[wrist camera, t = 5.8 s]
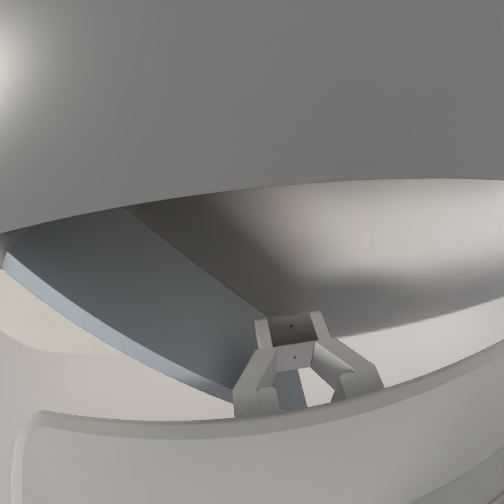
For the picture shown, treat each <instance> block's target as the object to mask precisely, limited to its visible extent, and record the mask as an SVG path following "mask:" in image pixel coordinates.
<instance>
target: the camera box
mask: <svg viewBox="0 0 504 504" xmlns="http://www.w3.org/2000/svg"><path fill="white" fill-rule="evenodd" d="M417 178H450V179H488V180H504V0H0V233H4V232H8V231H12V230H16V229H20V228H24V227H28V226H32V225H36V224H40V223H44V222H49V221H53V220H58V219H62V218H67V217H71V216H76V215H81V214H86V213H91V212H96V211H101V210H106V209H112V208H117V207H123V206H129V205H134V204H140V203H146V202H152V201H159V200H165V199H172V198H179V197H186V196H193V195H200V194H208V193H216V192H224V191H232V190H241V189H250V188H260V187H270V186H281V185H292V184H305V183H319V182H334V181H352V180H375V179H417Z"/></svg>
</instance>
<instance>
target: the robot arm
mask: <svg viewBox="0 0 504 504" xmlns="http://www.w3.org/2000/svg"><path fill="white" fill-rule="evenodd" d="M254 325H255V339H256V348H257V350H256V351H255V352H254V354H253V356H252V358H251V359H250V361H249V363H248V365H247V366H246V368H245V370H244V371H243V373H242V375H241V377H240V378H239V380H238V382H237V383H236V385H235V387H234V388H233V390H232V393H233V404H234V415H235V418H226V419H212V420H192V421H139V420H138V421H137V420H136V421H135V420H119V419H106V418H95V417H86V416H78V415H71V414H63V413H57V412H51V411H44V410H43V411H38V412H37V413H36V414H35V415H33V416H32V417H31V418H30V419H29V420H28V421H27V422H26V423H25V424H24V425H23V426H22V428H21V429H20V430H19V432H18V435H17V439H16V444H15V450H14V457H13V466H12V480H11V501H12V502H11V504H504V339H503V340H501V341H500V342H498V343H496V344H494V345H492V346H490V347H488V348H486V349H484V350H482V351H480V352H478V353H475V354H473V355H471V356H469V357H467V358H464V359H462V360H460V361H458V362H455V363H453V364H451V365H448V366H446V367H443V368H441V369H439V370H436V371H433V372H431V373H428V374H426V375H423V376H420V377H417V378H414V379H412V380H409V381H406V382H403V383H400V384H397V385H394V386H391V387H387V388H384V385H383V383H382V381H381V378H380V376H379V374H378V371H377V369H376V367H375V365H374V364H372V363H371V362H369V361H368V360H366V359H365V358H363V357H362V356H361V355H359V354H358V353H356V352H355V351H353V350H352V349H350V348H349V347H347V346H346V345H345V344H343V343H342V342H340V341H339V340H337V339H336V338H331V336H330V333H329V330H328V328H327V325H326V323H325V320H324V318H323V315H322V313H321V311H320V310H316V311H309V312H302V313H296V314H289V315H284V316H274V317H267V318H257V319H254ZM306 367H311V368H312V369H313V370H314V371H315V372H316V373H317V374H318V375H319V376H320V377H321V378H322V379H323V380H324V381H326V382H327V383H328V384H329V385H330V386H331V387H332V388H333V389H334V390H335V392H334V394H333V397H332V399H331V402H330V403H326V404H322V405H317V406H312V407H307V408H301V409H296V410H290V411H284V412H280V408H279V403H278V398H277V393H276V389H275V388H273V387H271V385H272V383H273V381H274V379H275V376H276V374H277V372H282V371H287V370H293V369H299V368H306Z"/></svg>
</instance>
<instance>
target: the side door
mask: <svg viewBox="0 0 504 504" xmlns="http://www.w3.org/2000/svg"><path fill="white" fill-rule="evenodd" d="M0 269H2V270H3V271H5V272H6V273H7V274H8V275H9V276H11V277H12V278H13V279H14V280H16V281H17V282H18V283H19V284H21V285H22V286H23V287H24V288H26V289H27V290H28V291H29V292H31V293H32V294H33V295H35V296H36V297H37V298H39V299H40V300H41V301H43V302H44V303H46V304H47V305H48V306H50V307H51V308H53V309H54V310H55V311H57V312H58V313H60V314H61V315H63V316H64V317H66V318H67V319H69V320H70V321H72V322H73V323H75V324H76V325H78V326H79V327H81V328H82V329H84V330H86V331H87V332H89V333H90V334H92V335H94V336H95V337H97V338H99V339H100V340H102V341H104V342H105V343H107V344H109V345H110V346H112V347H114V348H116V349H117V350H119V351H121V352H123V353H124V354H126V355H128V356H130V357H132V358H134V359H136V360H138V361H140V362H141V363H143V364H145V365H147V366H149V367H151V368H153V369H155V370H157V371H159V372H161V373H163V374H165V375H167V376H169V377H172V378H174V379H176V380H178V381H180V382H182V383H184V384H187V385H189V386H191V387H193V388H196V389H198V390H200V391H203V392H205V393H207V394H210V395H212V396H215V397H217V398H220V399H222V400H225V401H227V402H230V403H233V393H232V390H233V388H234V387H235V385H236V383H237V382H238V380H239V378H240V377H241V375H242V373H243V371H244V370H245V368H246V366H247V365H248V363H249V361H250V359H251V358H252V356H253V354H254V352H255V351H256V350H257V348H256V339H255V325H254V319H257V318H267V316H266V315H265V314H263V313H262V312H260V311H259V310H258V309H256V308H255V307H253V306H252V305H251V304H249V303H248V302H246V301H245V300H244V299H242V298H241V297H240V296H238V295H237V294H235V293H234V292H233V291H231V290H230V289H229V288H227V287H226V286H225V285H223V284H222V283H221V282H219V281H218V280H217V279H215V278H214V277H212V276H211V275H210V274H208V273H207V272H206V271H204V270H203V269H202V268H201V267H199V266H198V265H197V264H195V263H194V262H193V261H191V260H190V259H189V258H187V257H186V256H185V255H183V254H182V253H181V252H180V251H178V250H177V249H176V248H174V247H173V246H172V245H171V244H169V243H168V242H167V241H165V240H164V239H163V238H162V237H160V236H159V235H158V234H157V233H155V232H154V231H153V230H151V229H150V228H149V227H148V226H146V225H145V224H144V223H143V222H141V221H140V220H139V219H138V218H136V217H135V216H134V215H133V214H132V213H130V212H129V211H128V210H127V209H125V208H124V207H117V208H112V209H106V210H101V211H96V212H91V213H86V214H81V215H76V216H71V217H67V218H62V219H58V220H53V221H49V222H44V223H40V224H36V225H32V226H28V227H24V228H20V229H16V230H12V231H8V232H4V233H0ZM271 387H273V388H275V389H276V393H277V398H278V403H279V408H280V412H284V411H290V410H296V409H301V408H307V404H306V400H305V397H304V392H303V389H302V384H301V381H300V377H299V373H298V369H293V370H287V371H282V372H277V374H276V376H275V379H274V381H273V383H272V385H271Z"/></svg>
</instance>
